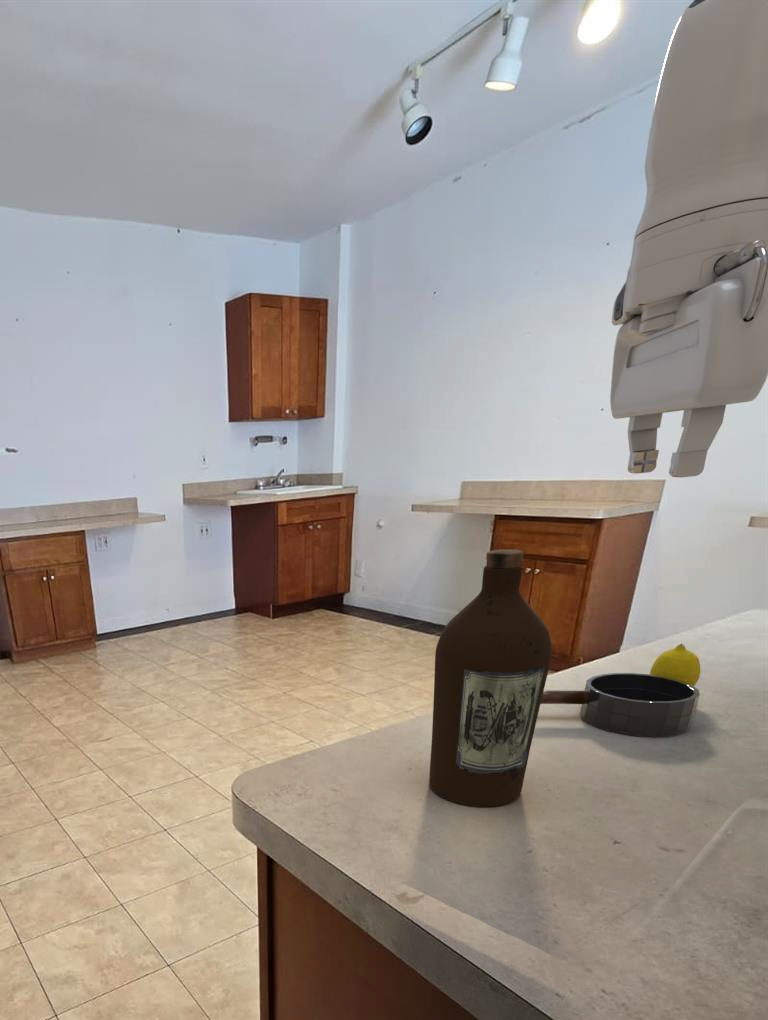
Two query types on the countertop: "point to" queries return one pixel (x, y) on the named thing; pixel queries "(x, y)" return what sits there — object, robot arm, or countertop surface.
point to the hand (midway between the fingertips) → (661, 474)
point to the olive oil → (488, 690)
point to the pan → (639, 704)
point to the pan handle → (564, 697)
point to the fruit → (678, 665)
